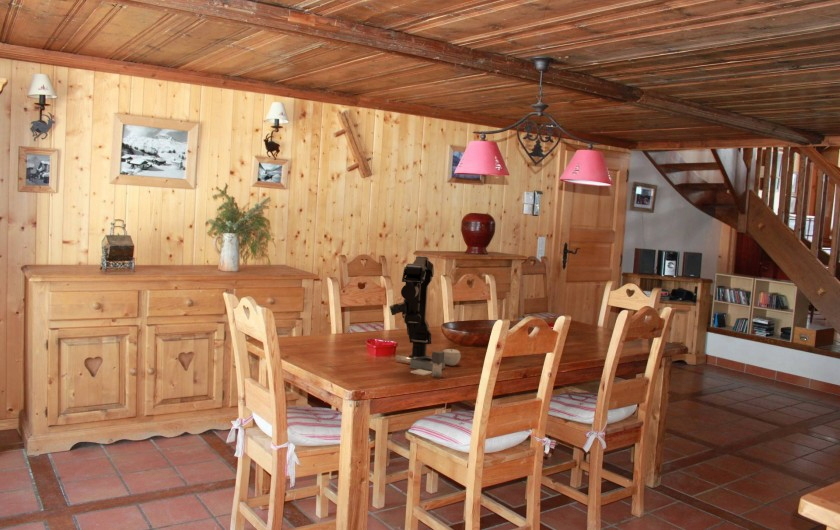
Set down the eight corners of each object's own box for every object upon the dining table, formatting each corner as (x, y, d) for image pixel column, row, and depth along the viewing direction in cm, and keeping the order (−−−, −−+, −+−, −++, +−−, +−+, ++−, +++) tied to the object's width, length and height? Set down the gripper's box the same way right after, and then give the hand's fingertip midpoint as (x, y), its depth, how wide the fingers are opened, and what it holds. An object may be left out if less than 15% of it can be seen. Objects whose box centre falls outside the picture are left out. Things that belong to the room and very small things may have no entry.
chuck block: (403, 359, 298) (404, 351, 298) (444, 368, 287) (445, 359, 287) (389, 363, 290) (390, 354, 290) (431, 372, 279) (431, 363, 279)
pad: (419, 370, 281) (419, 368, 281) (432, 373, 278) (432, 371, 278) (410, 372, 276) (410, 371, 276) (423, 375, 273) (423, 374, 272)
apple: (439, 365, 292) (441, 350, 291) (441, 362, 299) (443, 346, 299) (459, 367, 291) (460, 352, 290) (460, 363, 298) (462, 348, 298)
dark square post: (435, 374, 275) (436, 350, 274) (442, 376, 273) (444, 352, 273) (430, 376, 272) (432, 351, 272) (438, 378, 271) (439, 353, 270)
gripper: (390, 292, 284) (388, 331, 285) (392, 298, 265) (389, 340, 266) (418, 294, 285) (415, 333, 286) (422, 300, 266) (419, 341, 267)
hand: (409, 336), depth 276 cm, fingers open, 9 cm apart
